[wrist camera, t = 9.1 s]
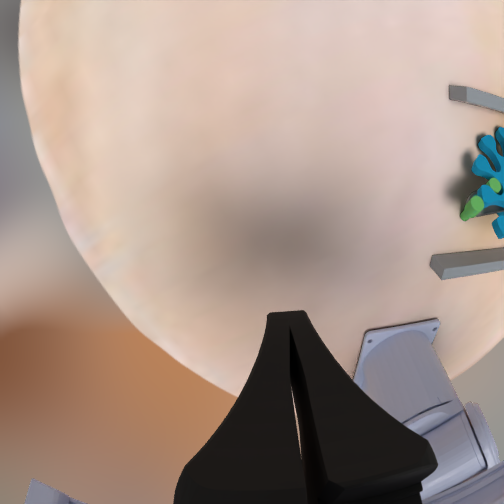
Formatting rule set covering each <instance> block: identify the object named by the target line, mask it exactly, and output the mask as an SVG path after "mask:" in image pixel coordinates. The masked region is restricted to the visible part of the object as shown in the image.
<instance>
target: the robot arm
mask: <svg viewBox="0 0 504 504" xmlns="http://www.w3.org/2000/svg"><path fill="white" fill-rule="evenodd" d="M439 326H440V321H439V320H438V319H435V320H430V321H425V322H419V323H414V324H409V325H403V326H397V327H391V328H385V329H379V330H372V331H368V332H367V333H366V334H365V337H364V341H363V345H362V349H361V353H360V357H359V361H358V364H357V368H356V372H355V375H354V379H353V380H352V379H351V378H350V376H349V375H348V374H347V373H346V372H345V371H344V369H343V368H342V367H341V366H340V364H339V363H338V362H337V361H336V359H335V358H334V357H333V355H332V354H331V353H330V351H329V350H328V348H327V347H326V346H325V344H324V343H323V341H322V340H321V338H320V337H319V335H318V333H317V332H316V330H315V328H314V327H313V325H312V323H311V321H310V319H309V317H308V315H307V313H306V312H305V311H304V310H300V311H286V312H272V313H269V314H268V315H267V323H266V329H265V334H264V337H263V341H262V344H261V347H260V350H259V353H258V356H257V359H256V361H255V364H254V366H253V368H252V371H251V373H250V375H249V378H248V380H247V382H246V384H245V386H244V388H243V390H242V391H241V393H240V395H239V397H238V399H237V400H236V402H235V404H234V406H233V407H232V408H231V410H230V412H229V413H228V415H227V416H226V418H225V419H224V421H223V422H222V423H221V425H220V426H219V427H218V429H217V430H216V431H215V433H214V434H213V435H212V436H211V438H210V439H209V440H208V441H207V443H206V444H205V445H204V446H203V447H202V448H201V449H200V451H199V452H198V453H197V454H196V455H195V456H194V457H193V458H192V459H191V460H190V461H189V462H188V463H187V464H186V465H185V467H184V469H183V471H182V473H181V475H180V477H179V480H178V483H177V486H176V490H175V495H174V503H173V504H504V460H503V461H502V462H500V460H499V457H498V456H499V452H498V449H497V446H496V444H495V441H494V439H493V436H492V434H491V431H490V429H489V426H488V424H487V422H486V419H485V417H484V415H483V413H482V411H481V409H480V407H479V405H478V404H477V403H472V402H468V403H466V404H465V408H466V409H465V408H464V406H463V404H462V403H461V401H460V400H459V398H458V396H457V394H456V392H455V390H454V388H453V386H452V383H451V381H450V379H449V377H448V375H447V373H446V371H445V369H444V367H443V365H442V363H441V361H440V359H439V358H438V356H437V354H436V352H435V350H434V348H433V346H432V343H433V340H434V338H435V335H436V333H437V331H438V328H439ZM291 387H292V389H291ZM292 392H293V397H292ZM293 398H294V403H295V408H296V413H297V418H298V424H299V431H300V444H301V454H300V447H299V440H298V433H297V426H296V420H295V412H294V405H293ZM466 411H467V412H466ZM467 413H468V414H467ZM301 458H302V460H301ZM25 504H87V503H84V502H81V501H79V500H76V499H74V498H71V497H69V496H68V495H66V494H65V493H63V492H61V491H59V490H57V489H55V488H53V487H51V486H48V485H46V484H44V483H42V482H40V481H38V480H36V479H31V483H30V486H29V489H28V493H27V496H26V500H25Z"/></svg>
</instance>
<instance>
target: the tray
mask: <svg viewBox="0 0 504 504" xmlns="http://www.w3.org/2000/svg"><path fill="white" fill-rule="evenodd" d="M449 99H451V100H456V101H460V102H464V103H469V104H473V105H477V106H480V107H484V108H488V109H491V110H495V111H498V112H501V113H504V98H501V97H499V96H496V95H493V94H490V93H486V92H483V91H480V90H477V89H473V88H470V87H465V86H452V85H449ZM430 267H431V268H432V269H433V270H434V272H435V273H436V274H437V275H438V277H439V278H440V279H441V280H445V279H451V278H458V277H464V276H470V275H476V274H482V273H488V272H494V271H499V270H504V248H496V249H487V250H478V251H469V252H459V253H450V254H440V255H432V259H431V263H430Z"/></svg>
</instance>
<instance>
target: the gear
mask: <svg viewBox="0 0 504 504" xmlns="http://www.w3.org/2000/svg"><path fill="white" fill-rule="evenodd" d="M495 136H496V139H497V140H498V142H499V144H500V145H501V148H502V152H503V157H502V156H501V155H499V154H498V152H497V150H496V142H495V139H494V138H493V137H492V136H491V135H486V136H484V137H483V138H481V140H480V142H479V143H478V146H479V148H480V149H481V151H483V152H484V153H485V154H486V155H487V156H488V157H489V158H490V159H491V161H492V162H493V164H494V166H495V169H496V172H495V171H493V170H492V168H491V167H490V164H489V162H488V160H487V159H486V157H484V156H483V155H481V154H479V155H478V157H477V158H476V160H475V161H474V163H473V166H472V172H473V173H474V174H475V175H477V176H481V177H484V178H486V179H487V180H489V181H488V182H487V184H486V185H482V186H481V187H480V188H479V189H478V191H474V192H472V193H471V194H470V195H469V197H468V198H467V200H466V205H465V207H464V211H463V212H462V213H461V215H460V217H461V219H462V220H463V221H467V220H468V219H469V218H474V217H475V216H476V217H479V216H484V215H489V214H494V213H497V214H498V216H499V217H498V218H497V219H495V220H494V221H493V222H492V226H493V229H494V231H495V233H496V235H497V237H498V238H499V239H502V238H504V128H502V127H499V128H498V130H497V131H496V134H495Z"/></svg>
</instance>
